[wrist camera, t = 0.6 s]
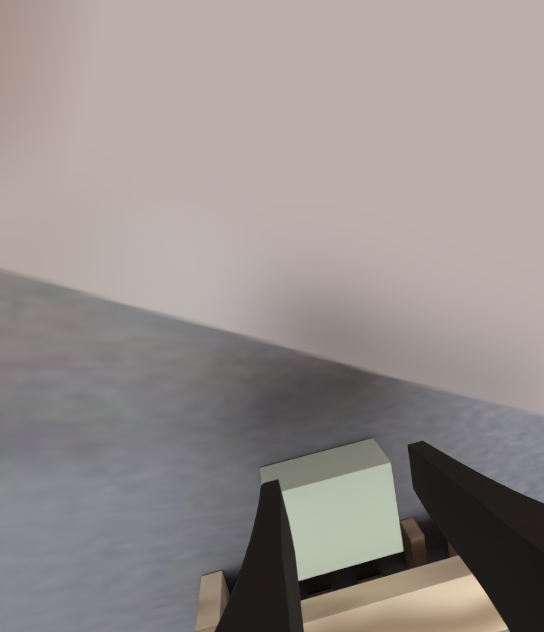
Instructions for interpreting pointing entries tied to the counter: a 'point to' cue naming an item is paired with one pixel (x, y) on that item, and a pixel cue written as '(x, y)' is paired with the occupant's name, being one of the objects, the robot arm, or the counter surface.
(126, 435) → the counter surface
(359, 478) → the pale green slab
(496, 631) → the overhang shelf
